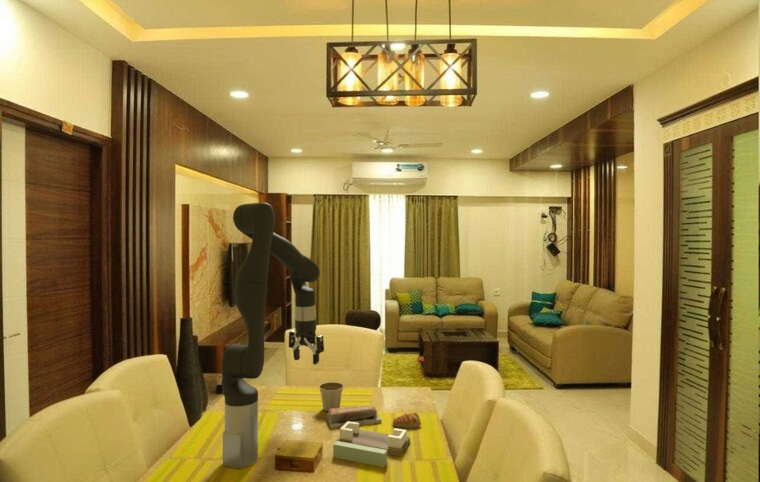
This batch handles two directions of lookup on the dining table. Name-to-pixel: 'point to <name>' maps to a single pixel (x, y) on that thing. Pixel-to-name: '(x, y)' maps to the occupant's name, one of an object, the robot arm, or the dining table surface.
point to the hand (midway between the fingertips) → (306, 361)
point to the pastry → (407, 421)
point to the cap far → (349, 430)
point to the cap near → (397, 438)
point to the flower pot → (331, 395)
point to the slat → (360, 453)
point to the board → (375, 441)
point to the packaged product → (353, 416)
